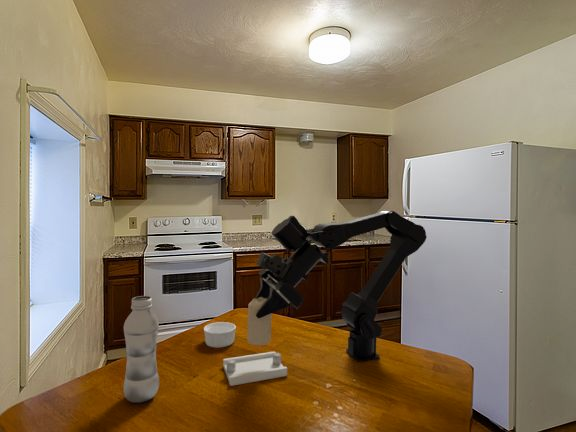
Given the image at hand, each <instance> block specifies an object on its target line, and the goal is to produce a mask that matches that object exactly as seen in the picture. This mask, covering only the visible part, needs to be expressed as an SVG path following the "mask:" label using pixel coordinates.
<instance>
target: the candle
mask: <svg viewBox="0 0 576 432" xmlns="http://www.w3.org/2000/svg"><path fill="white" fill-rule="evenodd" d="M266 300H267V299H266V298H265V299H264V298H263V297H259V298H257V299H256V298H255V297H253V299H252V300H251V301H250V302H249V303H248V305H247V306H248V308H247V332H246V334H247V336H246V339H247V340H246V341H247V343H248V344H250V345H252V346H265V345H268V344H270V343H271V336H272V316H273V315H272V314H273V313H271V314H269V315H266V316H264V317H262V318H257V317H256V314H257V312H258V311H259V309H260V308H261V306H262V305H263V304H264V302H265V301H266Z"/></svg>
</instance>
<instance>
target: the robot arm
mask: <svg viewBox="0 0 576 432" xmlns="http://www.w3.org/2000/svg"><path fill="white" fill-rule="evenodd" d="M381 229H385V230H386V232H387V233H389V234H390V242H389V248H388V250H387V251H386V253H385V254H384V256H383V257H382V259H381V261H380V262H379V264H378V265H377V267H376V268H375V270H374V271H373V273H372V274H371V276H370V277H369V279H368V280H367V282H366V283H365V285H364V286H363V288H362V290H361V291H358V292H357V293H354V292H350V293H349V294H348V296H347V299H346V300H345V301H344V302H342V303H341V304H342V308H341V311H340V312H341V318H342V320H343V321H344V322H345V323H346V327H348V328H349V329H350V330H349V336H348V337H347V348H346V349H345V352H346V353H348V354H349V355H350V356H351V357H352V358H353V359H355V360H356V361H358V362H363V361H364V362H365V361H370V360H371V361H372V360H376V359H380V357H381V356H380V354H378V353H377V338H379V337H381V336H382V335H381V333H382V331H383V328H382V327H381V326H380V325H379V323H377V321H376V320H375V319H376V317H377V315H378V304H379V301H380V299H381V298H382V296H383V294H384V292H385V291H386V290H387V288H388V287H389V285H390V284H391V282H392V281H393V280H394V279H393V278H394V277H395V276H396V274H397V273H398V271H399V269H401V266H402V265H403V263H404V262H405V261H406V259H407V258H408V257H409V256H410V255H412V254H415V253H416V252H418V250H419V249H420V248H421V247H422V246H423V245H424V243H426V240H427V233H426V230H425V227H424V226H423V225H421V224H416V223H414V222H413V221H412V220H409V219H407V218H405V217H403V216H402V215H400V214H399V213H397V212H395V211H394V210H381V211H379V212H376V213H373V214H369V215H366V216H362V217H358V218H355V219H350V220H347V221H343V222H327V223H325V222H324V223H318V224H316V225H315V226H314V227H313V228H308V229H306V228H305V227H303V225H302V224H301V223H300V222H299V220H298V219H297V217H296V216H295V215H289V216H288V217H287V218H286V219H284V220H283V221H281V222H279V223H278V224H277V225H276V226H274V228H273V229H272V231H271V233H270V234H271V235H272V237H274V238H275V240H277V242H278V243H279V244H280V245H281V246H282V247H283V248H284V249H285V250H286V251H288V252H289V251H293V253H292V254H291V255H290V256H289V258H288V257H284V258H282V256H280V255H278V254H276V253H274V254H272V255H269V254H267V253H265V252H263V251H261V253H260V255H259V257H258V260H257V261H256V263H255V264H256V265H257V266H258V267H260V268H261V270H260V271H259V272H258V275H260V277H259V282H260V287H259V290H258V292H257V294H256V295H255V297H254V298H256V299H257V298H259V297H263V298H264V299H265V298H266V299H267V300H266V301H265V302H264V304H263V305H262V306H261V308H260V309H259V311H258V312H257V314H256V317H257V318H262V317H264V316H266V315H269V314H271V313H272V314H273V313H276V312H279V311H281V310H284V309H288V308H291V307H292V306H293V307H294V308H296V310H298V309H299V308H300V307H301V305H303V303H304V296H303V295H302V294H301V292H300V291H298V290H297V289H296V286H298V284H299V283H300V282H301V281H302V279H303V280H304V281H306V280H307V279H308V277H309V276H308V275H307V274H308V273H309V272H310V271H311V270H312V269H313V268H314V267H315V266H316V265H317V264H318V262H319V261H320V262H322V263H324V264H327V265H328V264H329V262H330V261H329V252H327V251H322V249H321V248H320V247H323V248H326V249H331V250H332V249H335V248H337V247H339V246H342V245H343V244H346V242H348V240H349V239H352V238H354V237H357V236H360V235H364V234H367V233H370V232H375V231H377V230H381ZM310 241H312V242H313V243H314V244H312V243H311V242H310ZM290 303H291V304H290Z"/></svg>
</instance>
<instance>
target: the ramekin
mask: <svg viewBox="0 0 576 432" xmlns="http://www.w3.org/2000/svg"><path fill="white" fill-rule="evenodd" d="M236 330H237V327H236V325H235V324H234V323H232V322H228V321H226V322H225V321H218V322H212V323H211V322H210V323H208V324H206V325H205V326H203V332H204V341H205V344H206V345H207V346H208V347H211V348H218V349H219V348H225V347H228V346H231V345H232V344H233V343H234V342H235V337H236V336H235V333H236Z"/></svg>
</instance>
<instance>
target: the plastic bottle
mask: <svg viewBox="0 0 576 432" xmlns="http://www.w3.org/2000/svg"><path fill="white" fill-rule="evenodd" d="M152 300H153V299H152V296H151V295H138V296H135V297H132V298H131V305H130V309H131V312H130V314H129V315H128V316H127V318H126V319H125V321H124V324H123V334H124V339H125V348H126V349H125V350H126V351H125V352H126V365H125V366H126V369H125V376H124V382H123V387H122V389H123V394H124V398H126V400H127V401H128V402H130V403H134V404H136V403H137V404H140V403H144V402H148V401H150V400H151V399H153V398H154V397H155V396H156V394H157V393H158V391H159V387H160V377H159V372H158V367H157V366H158V365H157V355H156V354H157V339H158V334H159V324H160V323H159V320H158V319H159V318H158V317H157V315H156V314H155V312H154V311H153V310H152V308H153V301H152Z"/></svg>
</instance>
